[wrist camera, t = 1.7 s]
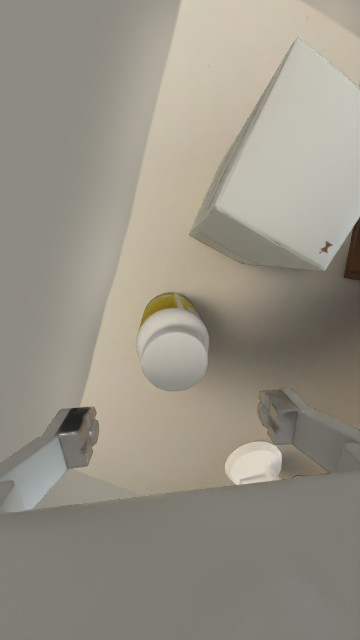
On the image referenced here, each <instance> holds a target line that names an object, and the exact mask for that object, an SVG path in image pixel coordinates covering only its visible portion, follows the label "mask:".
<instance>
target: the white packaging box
mask: <svg viewBox="0 0 360 640" xmlns="http://www.w3.org/2000/svg"><path fill="white" fill-rule="evenodd" d="M359 218H360V88H359V87H358V86H357V85H355V84H354V83H353V82H352V81H351V80H349V79H348V78H347V77H346V76H345V75H343V74H342V73H341V72H340V71H339V70H337V69H336V68H335V67H334V66H333V65H331V64H330V63H329V62H328V61H327V60H326V59H324V58H323V57H322V56H321V55H320V54H318V53H317V52H316V51H315V50H314V49H312V48H311V47H310V46H309V45H308V44H307V43H306V42H304V41H303V40H302V39H301V38H299V37H297V38H296V40H295V41H294V43H293V44H292V46H291V47H290V49H289V51H288V52H287V54H286V55H285V57H284V59H283V61H282V62H281V64H280V66H279V67H278V69H277V71H276V72H275V74H274V76H273V77H272V79H271V81H270V82H269V84H268V86H267V87H266V89H265V91H264V92H263V94H262V96H261V97H260V99H259V101H258V102H257V104H256V106H255V108H254V109H253V111H252V113H251V114H250V116H249V118H248V119H247V121H246V123H245V124H244V126H243V128H242V129H241V131H240V133H239V134H238V136H237V137H236V139H235V141H234V142H233V144H232V145H231V147H230V149H229V150H228V152H227V153H226V155H225V156H224V158H223V160H222V161H221V163H220V165H219V168H218V170H217V172H216V174H215V176H214V179H213V181H212V183H211V185H210V187H209V190H208V192H207V194H206V196H205V198H204V201H203V203H202V205H201V207H200V209H199V212H198V214H197V216H196V219H195V221H194V223H193V225H192V228H191V230H190V232H189V235H190V236H192V237H194V238H196V239H197V240H199V241H201V242H203V243H205V244H206V245H208V246H210V247H212V248H214V249H216V250H218V251H220V252H222V253H224V254H225V255H227V256H229V257H231V258H233V259H235V260H237V261H239V262H241V263H243V264H254V265H265V266H276V267H287V268H298V269H308V270H320V271H324V270H326V268H327V266H328V265H329V263H330V262H331V260H332V259H333V257H334V256H335V254H336V253H337V251H338V250H339V248H340V247H341V245H342V244H343V242H344V241H345V239H346V238H347V236H348V234H349V233H350V231H351V230H352V228H353V227H354V225H355V224H356V222H357V221H358V219H359Z"/></svg>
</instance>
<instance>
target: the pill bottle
mask: <svg viewBox="0 0 360 640" xmlns="http://www.w3.org/2000/svg"><path fill="white" fill-rule="evenodd" d="M136 348H137V353H138V356H139V358H140V360H141V362H142V369H143V372H144V374H145V376H146V378H147V379H148V380H149V381H150V382H151V383H152V384H153V385H154V386H156V387H158V388H160V389H163V390H166V391H181V390H185V389H188V388H190V387H192V386H194V385H195V384H197V383H198V382H199V381H200V380H201V379H202V377H203V376H204V374H205V372H206V370H207V367H208V354H207V353H208V350H209V335H208V332H207V329H206V327H205V325H204V323H203V322H202V320H201V318H200V317H199V315H198V313H197V312H196V310H195V308H194V307H193V305H192V304H191V302H190V301H189V300H188V299H187V298H185V297H184V296H182V295H180V294H177V293H163V294H160V295H158V296H156V297H154V298H153V299H152V300H151V301H150V302H149V303H148V305H147V306H146V309H145V311H144V314H143V317H142V321H141V324H140V328H139V331H138V334H137V340H136Z"/></svg>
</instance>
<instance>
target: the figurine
mask: <svg viewBox="0 0 360 640" xmlns="http://www.w3.org/2000/svg"><path fill="white" fill-rule="evenodd" d="M281 464H282V456H281V452H280V451H279V449H278V448H277V447H276V446H274V445H273V444H271V443H268V442H262V441H257V442H250V443H247V444H244V445H242V446H240V447H238V448H237V449H235V450H234V451H233V452H232V453H231V454H230V455H229V457H228V458H227V460H226V463H225V472H226V475H227V476H228V477H229V479H230V480H232V481H233V482H234V483H235V484H236V485H240V484H248V483H256V482H265V481H273V480H281V479H280V477H278V474H279V473H280V470H281Z"/></svg>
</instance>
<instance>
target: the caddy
mask: <svg viewBox="0 0 360 640" xmlns="http://www.w3.org/2000/svg"><path fill="white" fill-rule="evenodd" d="M344 278H349V279H357V280H360V218H359V219H358V221H357V222H356V224H355V225H354V229H353V234H352V239H351V244H350V249H349V254H348V260H347V265H346V270H345V275H344Z"/></svg>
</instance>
